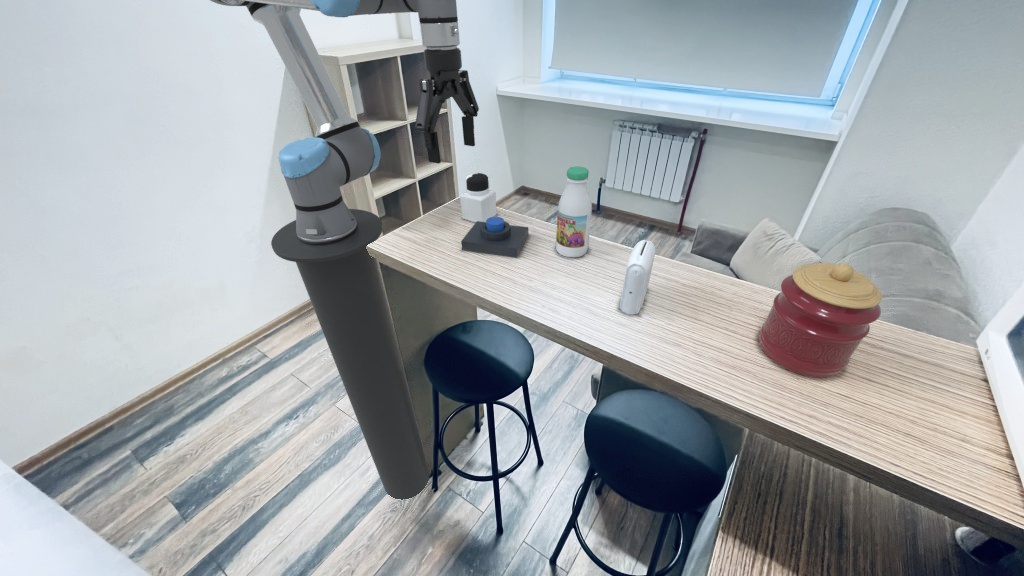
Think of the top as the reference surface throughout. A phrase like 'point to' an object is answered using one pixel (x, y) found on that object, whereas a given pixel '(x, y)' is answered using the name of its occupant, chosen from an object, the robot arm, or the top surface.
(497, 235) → the button base
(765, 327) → the kitchen canister
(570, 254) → the milk bottle
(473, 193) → the medicine bottle
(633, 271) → the photo printer
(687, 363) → the top surface
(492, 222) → the push top
